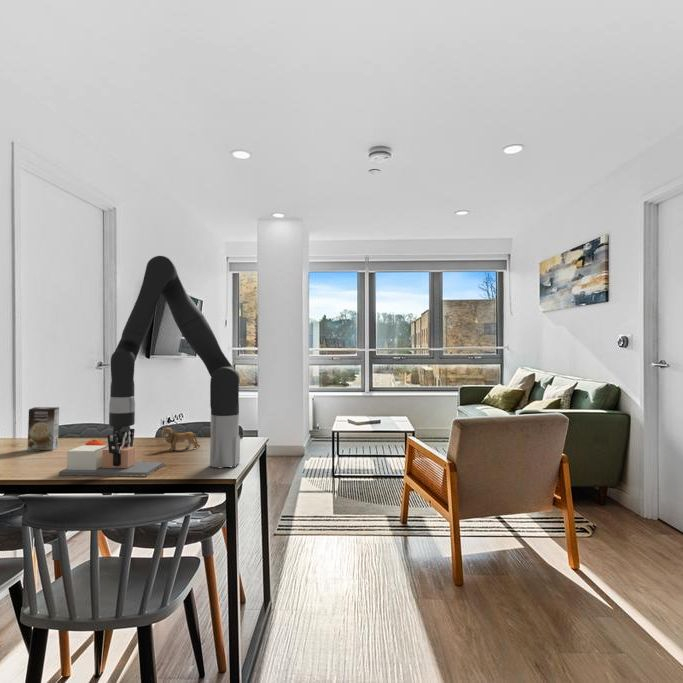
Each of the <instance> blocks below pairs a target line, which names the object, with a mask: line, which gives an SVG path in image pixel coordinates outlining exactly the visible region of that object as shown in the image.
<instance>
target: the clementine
mask: <svg viewBox="0 0 683 683" xmlns="http://www.w3.org/2000/svg"><path fill="white" fill-rule="evenodd" d="M84 445H95V446H106V445H105V444H104V442H103V441H102V440H101V439H99V438H98V439H97V438H96V439H95V438H94V439H91V440H89V441H87V442H86V443H85V444H84Z"/></svg>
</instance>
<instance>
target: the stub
mask: <svg viewBox="0 0 683 683" xmlns="http://www.w3.org/2000/svg"><path fill="white" fill-rule="evenodd" d="M112 448H113V446H112ZM118 449H119V447H118ZM135 460H136V447H135V446H132V447H122V450H121V465H120V466H113V454H112V453H109V448H106V449H104V450H103V463H102V468H129V467H131V466H132V465H134V464H135V462H136V461H135Z"/></svg>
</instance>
